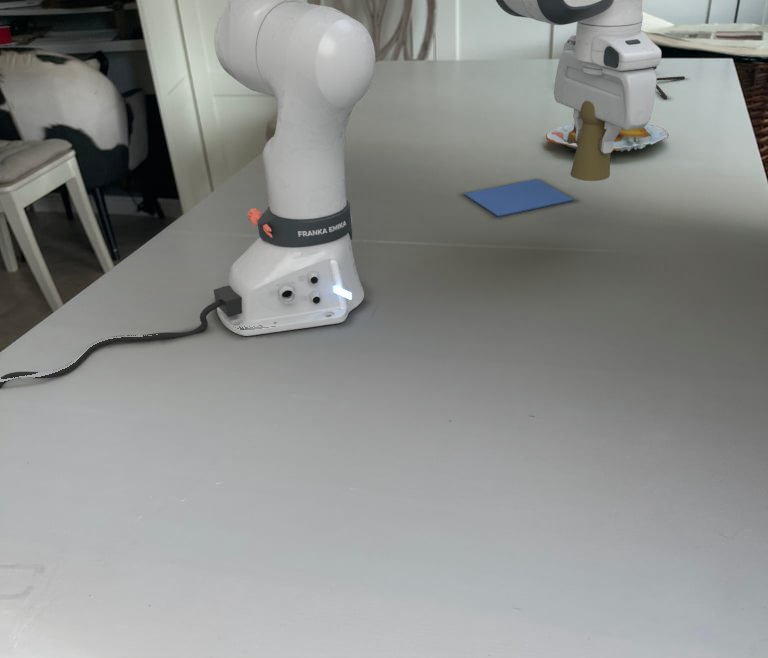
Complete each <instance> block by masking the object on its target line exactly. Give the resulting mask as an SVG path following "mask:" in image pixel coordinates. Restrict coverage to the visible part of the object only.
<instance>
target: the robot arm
mask: <svg viewBox="0 0 768 658" xmlns="http://www.w3.org/2000/svg"><path fill="white" fill-rule="evenodd" d="M495 2H496V4H497V5H498V6H499V8H500V9H501V10H503V12H505V13H507V14H508V15H510V16H513V17H516V18H517V17H518V18H526V19H527V18H528V19H531V20H534V21H538V22H542V23H546V24H549V25H553V26H565V25H570V24H574V23H577V25H576V35H575V34H573V35H571V36H570V37H569V38H568V39H567V40H566V42H565V43H564V45H563V50H562V53H561V54H560V56H559V59H558V63H557V68H556V73H555V80H554V87H553V96H554V100H555V102H556V103H558V104H560V105H563V106H565V107H568V108H570V109H573V112H572V113H573V114H572V117H573V123H575V127H576V138H575V139H576V141H579V137H580V133H581V128H582V124H583V120H582V118H581V114H580V111H581V106H582V104H583V103H584V101H590V102H591V103H592V104H593V105H594V108H595V117H596V118H598V119H600V120H603V121H605V126H604V129H607V130H606V132H605V134H604V137H603V139H599V142H598V145H599V146H598V150H599V151H600V152H602V153H604V154H605V153H610V154H611V153H613V151H614V150H613V146H614V140H615V139H616V137H617V136H618V134H619V132H620V131H621V129H625V130H633V129H639V128H643V127H645V126H646V125H647V124H649V122H650V120H651V118H652V114H653V109H654V103H655V97H656V90H657V89H656V84H657V81H658V80H657V79H656V78H657V73H656V71H655V70H656V69H655V70H654V69H653V68H652V67H655V66H657V67H658V66H659V65H660V63H661V60H662V49H661V48H660V47H659V46H658V45H657V44H656V43H654V41H652V39H651V38H649V36H648V35H647V33H646V32H645V31H644V30H642V26H643V20H644V19H643V17H644V15H643V0H495ZM213 43H214V44H213V45H214V50H215V54H216V58H217V61H218V62H219V64H220V66H221V67H222V69H223V70H224V71H225V73H226V74H227V75H229V76H230V77H231V78H233V79H234V80H235V81H237V82H238V83H240V84H241V85H243V86H244V87H246V88H247V89H249V90H251V91H253V92H257V93H260V94H264V95H268V96H271V97H275V100H276V103H277V104H276V105H277V117H276V125H275V131H274V134H273V136H272V137H271V138H269V139H268V141H267V142H266V143H265V145H264V148H263V151H262V164H263V171H264V177H265V185H266V186H265V187H266V195H267V201H268V206H267V208H266V209H265V210H264V212H263V213H262V212H261V210H259V208H257V207H253V208H250V209H249V210H248V212H247V218H248V220H249V221H250V223H251V224H252V225H253V226H256V227H257V229H258V234H259V236H258V237H257V239H255V240H254V242H253V243H251V245H250V246H249V247H248V248H247V249H246V250H245V251H244V252H243V253H242V254H241V255H240V256H239V257H238V258H237V259H236V260H235V261H233V263H232V264H231V266H230V269H229V273H228V284H227V285H225V286H222V287H221V286H220V287H218V288H217V287H216V288H215V289H213V295H214V300H215V301H214V302H212V303H210V304H209V305H207V306H205V307H204V308H203V309H202V311H201V312H200V314H199V321H200V324H199V326H197V327H196V328H195V329H192V330H188V331H181V332H180V331H179V332H178V331H177V332H175V331H173V332H169V331H168V332H167V331H166V332H154V333H147V336H146V334H142V335H143V337H121V338H113V339H108V340H105V341H102V342H99V343H97V344H95V345H93V346H92V347H90V348H89V349H88V350H87V351H86V352H85V353H84V354H83V355H82V356H81V357H80V358H79V359H78V360H77V361H76V362H75V363H73V364H72V365H70V366H69V367H67V368H65V369H62V370H60V371H58V372H55V373H52V374H49V375H45V376H41V377H35V378H34V379H51V378H52V379H53V378H57V377H60V376H63V375H66V374H67V373H69V372H72V371H73V370H74V369H75V368H77V367H78V366H79V365H80V364H81V363H83V361H84V360H85V359H86V358H87V357H88V356H89V355H90V354H91V353H93V352H94V351H95V350H98V349H99V348H101V347H105V346H107V345H111V344H117V343H125V342H127V343H129V342H130V343H131V342H149V341H156V340H166V339H167V340H173V339H180V338H185V337H189V336H193V335H197V334H201V333H203V332H204V331H205V330H206V329H207V327H208V325H209V324H208V323H209V322H208V319H207V316H208V314H209V313H211V312H212V311H214V310H216V313H217V316H218V317H219V320H220V321H221V323H222V324H223V325H224V326H225V328H227V329H228V330H229V331H231V332H233V333H235V334H237V335H240V336H243V337H249V336H251V337H252V336H256V335H257V336H258V335H264V334H271V333H279V332H287V331H293V330H299V329H300V330H301V329H307V328H308V329H309V328H315V327H322V326H328V325H335V324H336V325H337V324H340V323H343V322H345V321H346V320H347V318H348V316H349V313H351V312H352V311H353V310H354V309H356V308H357V307H358V306H359V305H360V304H361V303H362V302H363V301H364V298H365V290H364V288H363V285H362V283H361V280H360V277H359V273H358V269H357V265H356V262H355V261H356V260H355V257H354V252H353V246H352V240H353V216H352V210H351V204H350V201H349V200H348V199H347V187H346V170H345V141H346V136H347V129H348V125H349V121H350V118H351V114H352V112H353V111H354V108H355V106H356V105H357V103H358V102H360V101H361V99H362V98H364V96H365V95H366V93H368V90H369V89H370V87H371V85H372V83H373V82H372V81H373V79H374V76H375V70H376V49H375V45H374V42H373V39H372V36H371V34H370V32H369V31H368V29H367V28H366V26H364V25H363V24H362V23H361V22H360V21H358V20H356V19H355V18H354V17H351V16H350V15H349V14H346V13H344V12H343V11H340V10H338V9H337V8H335V7H332V6H326V5H320V4H315V3H308V0H227V2H226V5H225V7H224V9H223V10H222V12H221V13H220V15H219V17H218V18H217V21H216V24H215V27H214V35H213ZM259 325H260V326H259ZM261 325H262V326H263V327H269V328H262V329H255V330H240V328H239V326H240V327H241V328H242V327H243V328H244V329H245V327H248V328H250V327H253V326H255V327H257V326H258V327H261ZM233 326H234V327H233ZM244 326H245V327H244ZM249 326H250V327H249ZM271 326H276V327H271ZM235 327H236V328H235ZM237 328H239V329H237ZM253 328H254V327H253ZM156 334H158V335H156ZM126 335H127V334H126ZM130 335H131V336H132V335H133V336H134V335H135V336H136V335H137V334H128V335H127V336H130ZM144 335H145V336H144ZM148 335H152V336H148ZM115 336H116V337H117V336H118V335H115ZM38 372H39V371H13V372H9V373H6V374H4V375H2V376H1V377H0V378H1V379H7V378H13V377H14V378H15V377H19V376H25V375H26V376H27V375H32V374H36V373H38ZM12 380H14V379H12ZM12 380H8V381H4V382H0V389H1V388H2V387H3V386H4V385H5V384H6V383H8V382H11V381H12Z"/></svg>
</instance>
